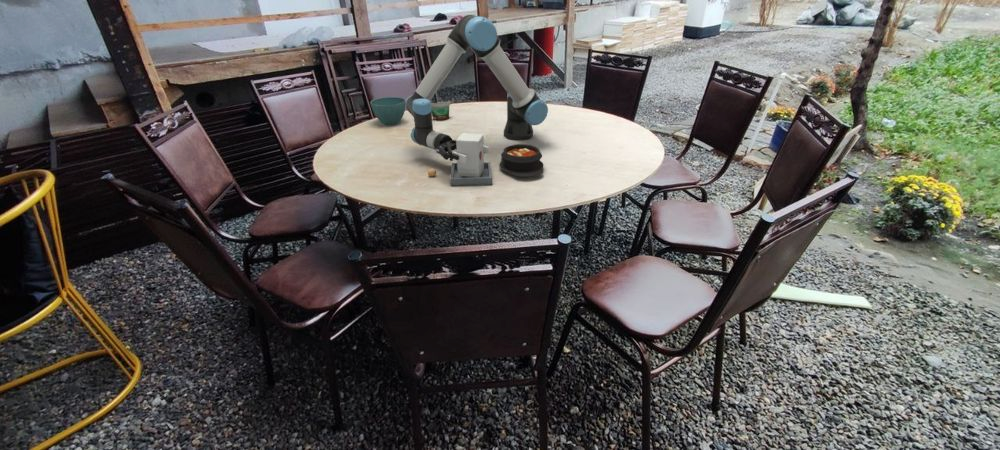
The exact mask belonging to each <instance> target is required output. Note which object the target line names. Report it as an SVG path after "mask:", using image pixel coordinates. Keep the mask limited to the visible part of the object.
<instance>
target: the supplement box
mask: <svg viewBox="0 0 1000 450" xmlns="http://www.w3.org/2000/svg"><path fill="white" fill-rule="evenodd" d="M455 140H456V147H457V150H456V152H457V153H460V154H462V155H465V156H466V158H467V163H463V162H461V161H458V160H456V163H457V168H458V176H466V177H480V175H481V173H482V172H483V170H484V162H485V155H484V154H485V153H484V146H485V145H484V133H471V132H469V133H468V132H462V133H461V134H460V135H459V136H458V138H456V139H455Z"/></svg>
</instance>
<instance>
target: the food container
mask: <svg viewBox="0 0 1000 450" xmlns="http://www.w3.org/2000/svg"><path fill="white" fill-rule="evenodd" d="M430 103H431V107H432V121H437V122H442V121H443V122H444V121H448V120H449V119H450V105H451V101H450V99H448V100H446V101H437V102H431V101H430Z"/></svg>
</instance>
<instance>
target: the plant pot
mask: <svg viewBox="0 0 1000 450" xmlns="http://www.w3.org/2000/svg"><path fill="white" fill-rule="evenodd" d="M405 102H406V99H405V98H403V97H395V96H389V97H388V96H387V97H386V96H385V97H379V98H375V99H373V100H371V101H370V106H371V109H372V111H373V113H374V116H375V117H376V118H377V119H378V121H379V122H380V123H381V124H383V125H384V126H396V125H398V124H400V122H401V121H402V120H403V117H404V115H405V111H406V105H405Z"/></svg>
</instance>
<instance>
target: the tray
mask: <svg viewBox="0 0 1000 450" xmlns="http://www.w3.org/2000/svg"><path fill="white" fill-rule="evenodd" d="M463 186H464V187H468V186H471V187H472V186H473V187H475V186H493V176H492V164H491V161H484V170H483V172H482V173H481V175H480V177H466V176H458V168H457V162H452V163H451V170H450V187H463Z"/></svg>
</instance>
